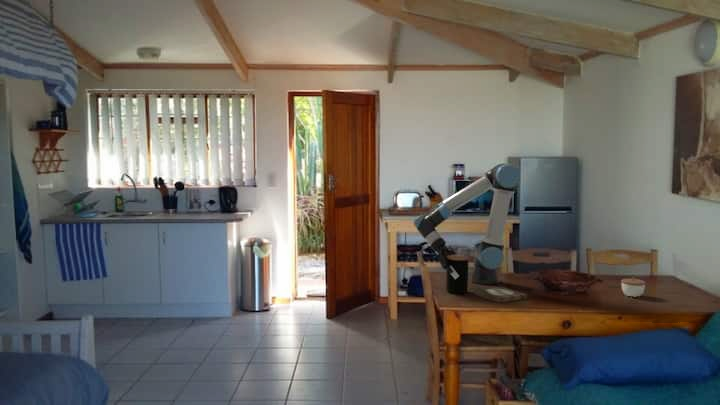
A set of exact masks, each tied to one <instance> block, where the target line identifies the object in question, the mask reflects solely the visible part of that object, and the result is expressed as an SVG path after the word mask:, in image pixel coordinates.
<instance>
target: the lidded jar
mask: <svg viewBox="0 0 720 405" xmlns="http://www.w3.org/2000/svg"><path fill="white" fill-rule="evenodd" d="M645 289H646V281H644V280H641V279H638V278H635V277H634V276H633V277H632V278H623V279H621V290H622V293H623V294H624V295H625V296H626V295H627V296H634V297H636V296H639V297H641V296H642V295H643V293H644V292H645ZM627 296H626V297H627Z"/></svg>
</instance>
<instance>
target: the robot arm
mask: <svg viewBox="0 0 720 405" xmlns="http://www.w3.org/2000/svg"><path fill="white" fill-rule="evenodd" d="M520 179H521V174H520V171H519V169H518V168H517V167H516V166H515V165H513V164H510V163H498V164H497V165H495V166H493V167H492V168H491V169H489V170H488V171H487V172H485V173H483V175H482V177H480V178H479V179H477V180H475V181H473V182H472V183H471V184H469V185H467V186H465V187H464V188H462V189H460V190H459V191H457V192H456V193H454V194H452V195H450V196H449V197H447V198H445V199H444V200H442V201H440V202H438V203H437V204H434V205H432V206H431V208H430V209H429V210H430V211H429V214H427V215H425V214H420V215H419V216H417V217H416V218H414V219H415V220H413V226H414V227H415V228H416V230H417V231H418V232H419V233H420V235H421V236H422V237H423V239H424V240H425V241H426V244H428V245H429V246H430V248H431V249H432V251H433V252H434V255H435V256H436V258H437V260H438V261H439V263H440V265H441V268H442V269H443V270H445V271H447V270H448V271H449V272H450V274H451V275H452V276H453V278H454V279H457V278H458V277H459V275H458V274H457V272H456V271H455V270H454V268H453V267H452V266H450V264H449V262H448V258H447V256H448V255H459V254H458V253H457V252H455V251H454V250H453V249H452V247H451V246H448V247H447V246H446V244H447V242H446V241H445V239H444V238H443V237H442V235H441V234H440V233H439V231H438V230H437V229H436V228H437V227H438V226H440V225H441V224H443V222H445V221H446V220H448V219H449V218H450V217H451V216H452V215H453V212H454V211H456V210H457V209H459V208H461V207H462V206H465V205H466V204H467V203H469V202H471V201H472V200H474V199H476V198H477V197H480V196H481V195H483V194H484V193H486V192H487V191H489V190H492V191H493V197H492V203H491V207H490V211H489V212H490V213H489V218H488V222H487V228H486V232H485V237H484V238H482V239H476V240H474V257H473V258H474V259H473V260H474V261H473V269H472V272H471V275H470V280H469V281H470V282H472V283H474V284H480V285H497V284H499V282H500V278H499V275H498V270H497V268H500V266H502V264H503V263H504V260H505V258H504V249H505V243H504V242H503V238H504V233H505V228H506V223H507V218H508V212H509V208H510V203H511V197H512V195H513V194H515V193H516V189H517V185H518V184H519V182H520ZM468 274H470V271H469V270H468Z"/></svg>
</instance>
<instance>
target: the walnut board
mask: <svg viewBox="0 0 720 405" xmlns="http://www.w3.org/2000/svg"><path fill="white" fill-rule="evenodd" d="M473 295H475V296H478V297H480V298H482V299H483V298H484V299H486V300H489V301H492V302H495V303H497V304H498V303H506V302H513V301H519V300H526V299H528V294H527V293H524V292H520V291H517V290H515V289H514V290H513V289H510V288H507V287H504V286H495V287H487V288H478V289H473Z"/></svg>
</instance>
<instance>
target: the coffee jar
mask: <svg viewBox="0 0 720 405" xmlns="http://www.w3.org/2000/svg"><path fill="white" fill-rule="evenodd" d="M447 259H448V262H449V264H450V266H452V267H453V268H454V270H455V271H456V272H457V274H458V275H459V277H458V278H457V279H454V278H453V276H452V275H451V274H450V272H449V271H448V270H447V269H446V278H445V279H446V282H445V284H446V285H445V286H446V287H445V290H446V292H447V293H449V294H452V295H464V293H465V294H467V292H468V288H469V287H468V285H469V284H468V282H469V273H468V271H469V256H467V255H464V254H458V255H448V256H447Z"/></svg>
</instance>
